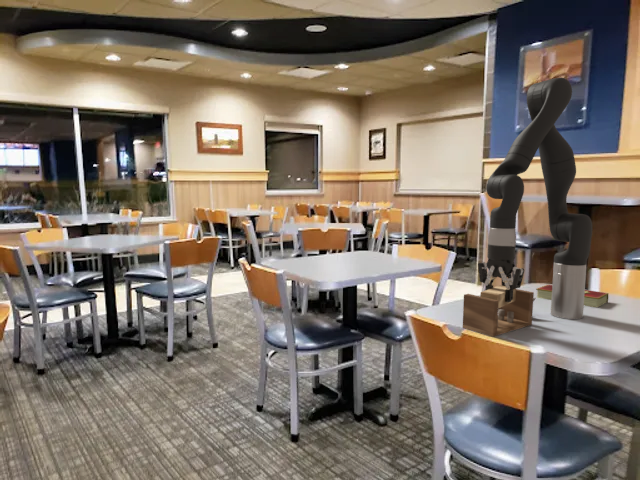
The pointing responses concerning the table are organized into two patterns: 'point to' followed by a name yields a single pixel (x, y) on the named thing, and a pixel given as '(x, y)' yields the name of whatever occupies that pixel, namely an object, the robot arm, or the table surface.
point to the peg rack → (497, 313)
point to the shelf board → (498, 295)
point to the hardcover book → (589, 297)
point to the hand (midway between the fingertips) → (498, 299)
